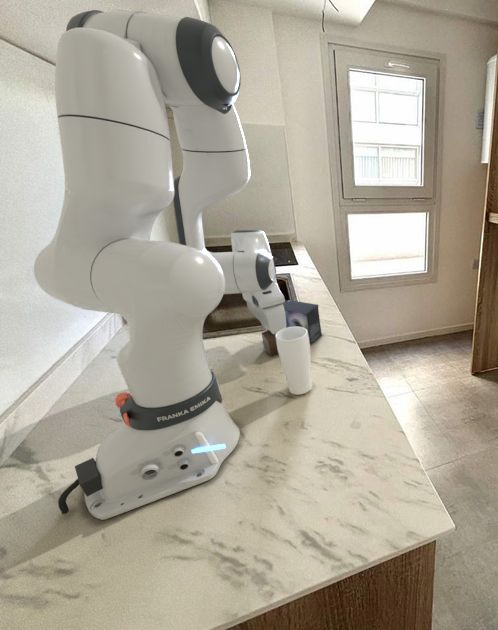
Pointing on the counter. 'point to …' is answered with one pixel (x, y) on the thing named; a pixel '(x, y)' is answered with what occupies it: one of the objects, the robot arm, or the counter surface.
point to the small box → (303, 317)
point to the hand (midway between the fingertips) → (269, 334)
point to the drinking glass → (295, 358)
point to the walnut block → (270, 342)
